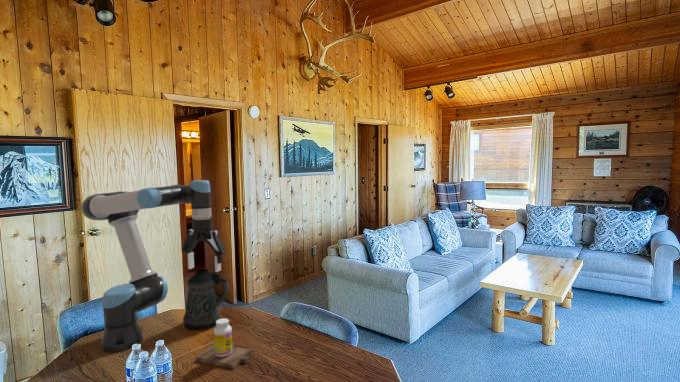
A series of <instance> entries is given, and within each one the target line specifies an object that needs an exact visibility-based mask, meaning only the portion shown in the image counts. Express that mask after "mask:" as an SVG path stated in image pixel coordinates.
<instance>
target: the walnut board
mask: <svg viewBox="0 0 680 382" xmlns="http://www.w3.org/2000/svg"><path fill="white" fill-rule="evenodd" d="M232 348H233V351H232V353H231V354H230V355H228V356H226V357H217V356H216V355H215V353H214V343H213V344H211V345H210V346H209V347H207V348H206V349H205V350H203V351H202V352H201V353H199V354H198V355H196V356H195V361H196V362H200V363H204V364H210V365H213V366H214V365H215V366H220V367H222V368H223V367H224V368H229V369H236V368H237V366H239V365H240V364H241V363H243V364H248V363H249V362H250V361H251V357H250V355H252V350H251V349H248V348H242V347H238V346H234V345H232Z"/></svg>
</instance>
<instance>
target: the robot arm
mask: <svg viewBox="0 0 680 382" xmlns="http://www.w3.org/2000/svg"><path fill="white" fill-rule="evenodd" d="M211 193H212V192H211V183H210V181H209V180H208V179H207V180H206V179H202V180H201V179H198V180H195V179H194V180H190V182H189V184H174V185H173V184H172V185H168V186H166V185H165V186H159V187H158V186H157V187H146V188H141V189H139V190H133V191H114V192H105V193H103V192H102V193H95V194H91V195H89V196H86V198H85V199H84V200H83V201H82V203H81V206H80V207H81V208H80V209H81V212H82V214H83V215H84V217H86V218H87V219H88V220H92V221H105V220H106V221H107V222H108V224H109V226H110V227H113V228H114V231H115V232H116V236H117V239H118V242H119V245H120V248H121V251H122V254H123V257H124V260H125V263H126V266H127V269H128V272H129V275H130V277H131V278H130V279H129V281H128V283H122V284H118V285H116V286H113V287H111V288H109V289H107V290H106V291H105V292H104V293H103V295H102V311H103V323H104V324H103V325H104V331H103V333H102V334H103V335H102V338H101V341H100V349H101V348H102V349H103V350H105V351H104V352H106V351H116V352H121V351H120V350H122V351H125V350H124V349H126V350H128V349H127V348H129V349H131V348H132V347H131V346H132V345H133V344H135V343H139V344H141V342H142V341H143V340H144V334H143V333H144V332H143V331H142V328H141V327H140V325H139V323H138V317H137V316H138V314H137V313H139V312H141V311H144V310H146V309H149V308H151V307H153V306H156V305H158V304H159V303H162V302H163V301H165V299H166V298H167V295H168V293H169V292H168V291H169V287H168V283H167V280H166V279H165V278H164V277H163V276H159V275H158V272H157V271H156V270H155V271H154V270H153V269H152V266H151V264H150V260H149V258H148V254H147V252H146V248H145V244H144V242H143V240H142V237H141V234H140V231H139V228H138V225H137V222H136V220H137V219H138V217H139V216H138V213H139V211H140V210H146V209H154V208H160V207H165V206H166V207H167V206H174V205H179V204H180V205H181V204H190V206H191V207H190V208H191V219H192V220H191V227H192V228H189V229H188V230H187V231H186V237H185V239H184V242H183V245H182V248H181V251H182V252H184V253H185V256H186V261H187V269H188V270H192V269H195V257H194V256H195V255H194V254H195V253H194V251H193V250H194V248H195V247H196V246H197V244H198V243H199V242H204V243H206V244H208V246H209V247H210V248H211V250H212V251H213V253H214V254H215V255H214V269H215V270H214V271H215V272H217V273H218V272H220V271H222V263H223V254H224V255H225V254H226V253H227V251H226V248H225V246H224V244H223V243H224V242H223V241H222V239H221V237H220V234H219V230H212V227H213V219H212V215H213V213H212V202H211V201H212V198H211V197H212V196H211ZM142 339H143V340H142ZM102 349H101V350H102ZM103 350H102V351H103Z"/></svg>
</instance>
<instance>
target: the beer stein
mask: <svg viewBox="0 0 680 382" xmlns="http://www.w3.org/2000/svg"><path fill="white" fill-rule="evenodd" d="M186 285H187V287H188V291H187V301H186V307H185V312H184V315H183V317H182V322H183V326H184V329H185V330H188V331H192V332H194V331H196V332H200V331H204V330H210V329H212V328H215V327H217V326H216V321H217V320H219V319H221V316H222V315H221V311H220V308H219V305H220V304H221V303H222V302H223V301H224V300H225V299H226V296H227V294H228V292H229V284H228V280H227V279H226V278H224V277H220V273H218V272H214V271H210V270H209V269H205V268H202V269H197V270H196V271H195V273H193V275H192V276H190V277H189V279H187V281H186ZM215 285H216V286H217V285H221V286H222V288H223V290H222V292H221V294H220V295H219V296H218V298H217V299H216V297H217V296H216V290H215Z"/></svg>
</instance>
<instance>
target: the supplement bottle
mask: <svg viewBox="0 0 680 382" xmlns="http://www.w3.org/2000/svg"><path fill="white" fill-rule="evenodd" d="M229 323H230V320H229V318H220V319H219V320H217V321H216V326H215V327H214V329H213V344H214V353H215V355H216V356H217V357H226V356H228V355H230V354H231V353H232V351H233V348H232V346H233V328H232V326H231V325H230V324H229Z"/></svg>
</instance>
